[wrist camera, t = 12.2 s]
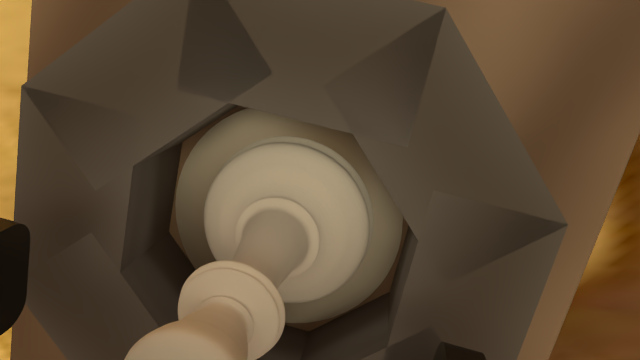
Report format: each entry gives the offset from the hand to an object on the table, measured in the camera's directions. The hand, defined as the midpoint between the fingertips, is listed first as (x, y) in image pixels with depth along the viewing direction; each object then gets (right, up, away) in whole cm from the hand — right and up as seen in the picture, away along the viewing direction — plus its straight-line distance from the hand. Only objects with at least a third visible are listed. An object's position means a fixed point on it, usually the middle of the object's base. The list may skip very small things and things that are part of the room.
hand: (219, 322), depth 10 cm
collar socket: (+1, +2, +7) cm, 8 cm away
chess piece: (+1, +2, +6) cm, 6 cm away
